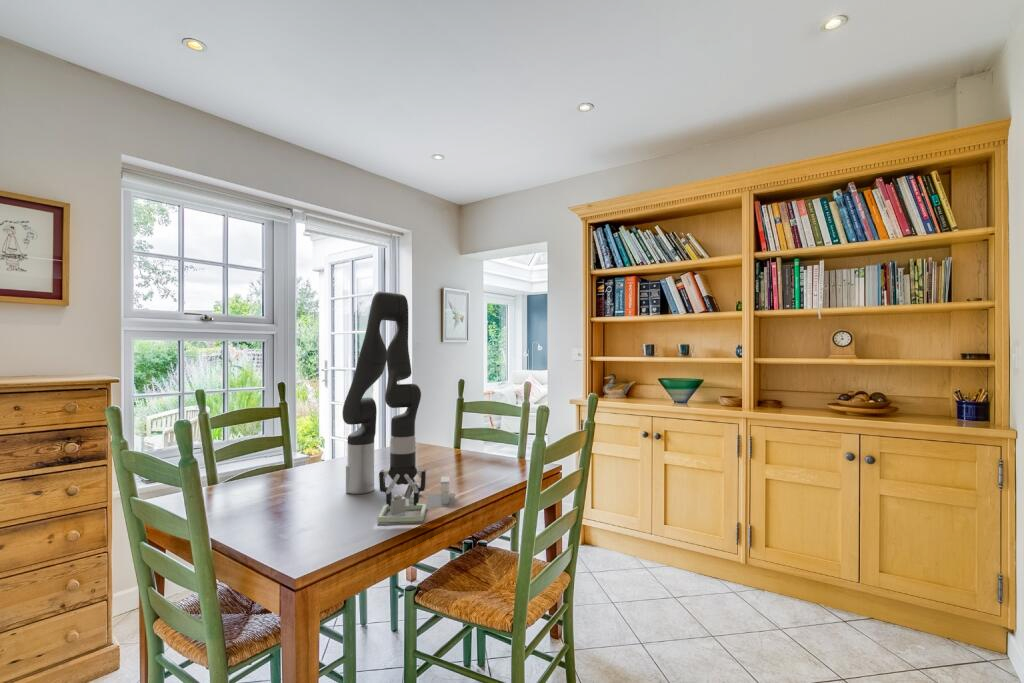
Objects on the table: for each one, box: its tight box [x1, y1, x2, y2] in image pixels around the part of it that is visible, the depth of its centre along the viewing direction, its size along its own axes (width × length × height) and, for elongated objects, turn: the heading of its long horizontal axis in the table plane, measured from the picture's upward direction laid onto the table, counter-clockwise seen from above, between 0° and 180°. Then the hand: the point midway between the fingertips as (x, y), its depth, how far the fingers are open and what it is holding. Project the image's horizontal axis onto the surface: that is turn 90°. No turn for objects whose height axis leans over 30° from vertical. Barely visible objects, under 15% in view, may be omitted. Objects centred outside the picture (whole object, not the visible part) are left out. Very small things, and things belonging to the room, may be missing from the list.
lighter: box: [389, 484, 414, 516], centre depth 147 cm, size 7×2×8 cm, turn 123°
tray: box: [376, 503, 427, 527], centre depth 147 cm, size 13×11×2 cm
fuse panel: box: [401, 483, 456, 509], centre depth 161 cm, size 18×14×5 cm
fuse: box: [440, 476, 451, 503], centre depth 161 cm, size 3×6×7 cm, turn 5°
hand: (402, 504), depth 147 cm, fingers closed on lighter, 7 cm apart
